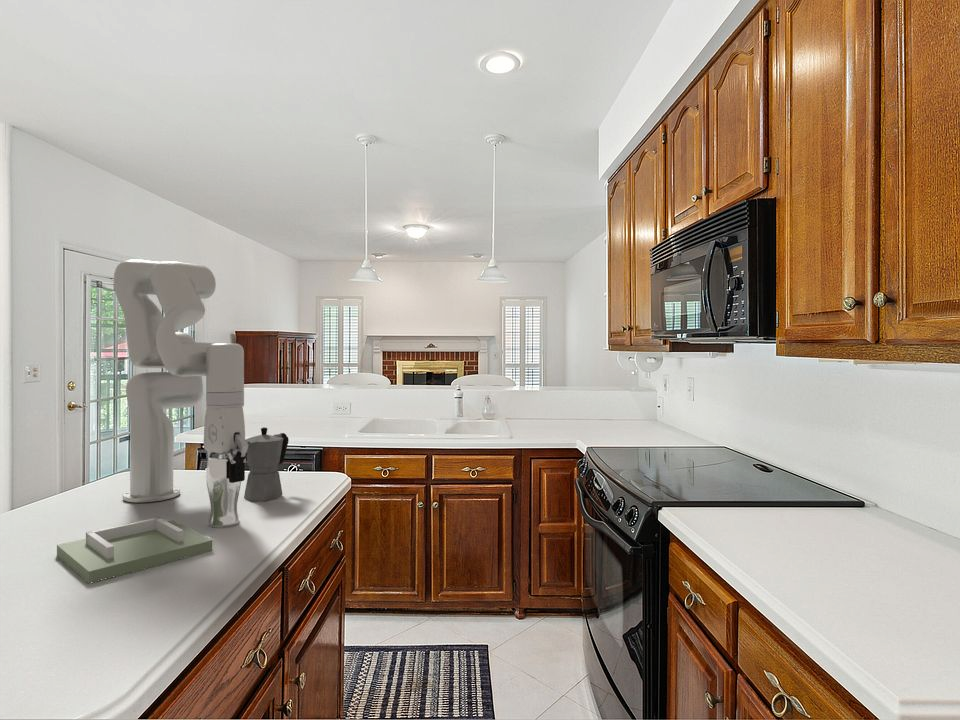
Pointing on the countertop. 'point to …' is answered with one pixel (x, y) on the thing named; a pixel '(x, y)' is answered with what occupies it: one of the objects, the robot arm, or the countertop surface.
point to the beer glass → (221, 492)
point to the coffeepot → (265, 466)
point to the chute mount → (131, 548)
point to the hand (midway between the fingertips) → (225, 478)
